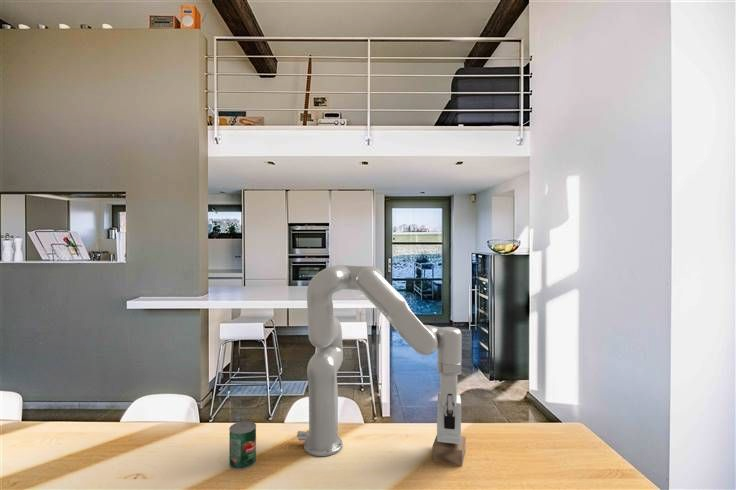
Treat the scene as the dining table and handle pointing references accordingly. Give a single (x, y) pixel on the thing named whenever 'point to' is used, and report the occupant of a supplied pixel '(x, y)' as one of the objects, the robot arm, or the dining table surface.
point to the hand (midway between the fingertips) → (448, 422)
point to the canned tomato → (242, 445)
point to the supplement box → (449, 434)
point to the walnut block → (449, 452)
